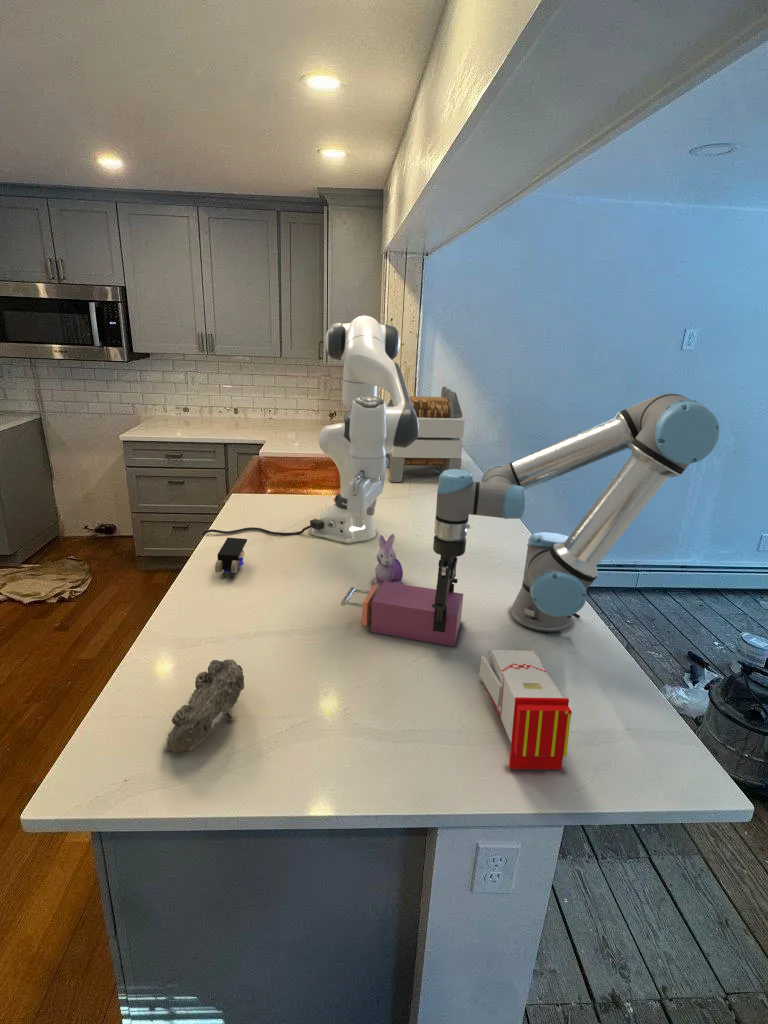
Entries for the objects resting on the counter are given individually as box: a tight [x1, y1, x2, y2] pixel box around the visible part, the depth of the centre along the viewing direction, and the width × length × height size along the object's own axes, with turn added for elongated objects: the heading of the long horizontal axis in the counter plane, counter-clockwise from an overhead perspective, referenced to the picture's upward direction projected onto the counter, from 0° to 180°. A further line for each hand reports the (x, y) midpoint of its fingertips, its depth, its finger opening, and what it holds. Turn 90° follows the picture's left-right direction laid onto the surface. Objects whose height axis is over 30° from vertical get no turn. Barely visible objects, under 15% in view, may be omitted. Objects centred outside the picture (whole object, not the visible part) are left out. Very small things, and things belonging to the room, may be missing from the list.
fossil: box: [166, 658, 245, 754], centre depth 106 cm, size 22×10×15 cm
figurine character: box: [214, 537, 248, 578], centre depth 166 cm, size 7×8×15 cm
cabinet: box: [370, 581, 464, 647], centre depth 140 cm, size 21×11×8 cm, turn 75°
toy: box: [479, 649, 572, 771], centre depth 110 cm, size 12×13×30 cm
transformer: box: [386, 386, 465, 483], centre depth 268 cm, size 34×33×41 cm
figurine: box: [373, 533, 404, 590], centre depth 160 cm, size 9×10×15 cm
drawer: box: [340, 584, 379, 627], centre depth 142 cm, size 25×10×6 cm, turn 75°
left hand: (365, 520), depth 140 cm, fingers open, 8 cm apart
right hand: (442, 618), depth 139 cm, fingers closed on cabinet, 11 cm apart
